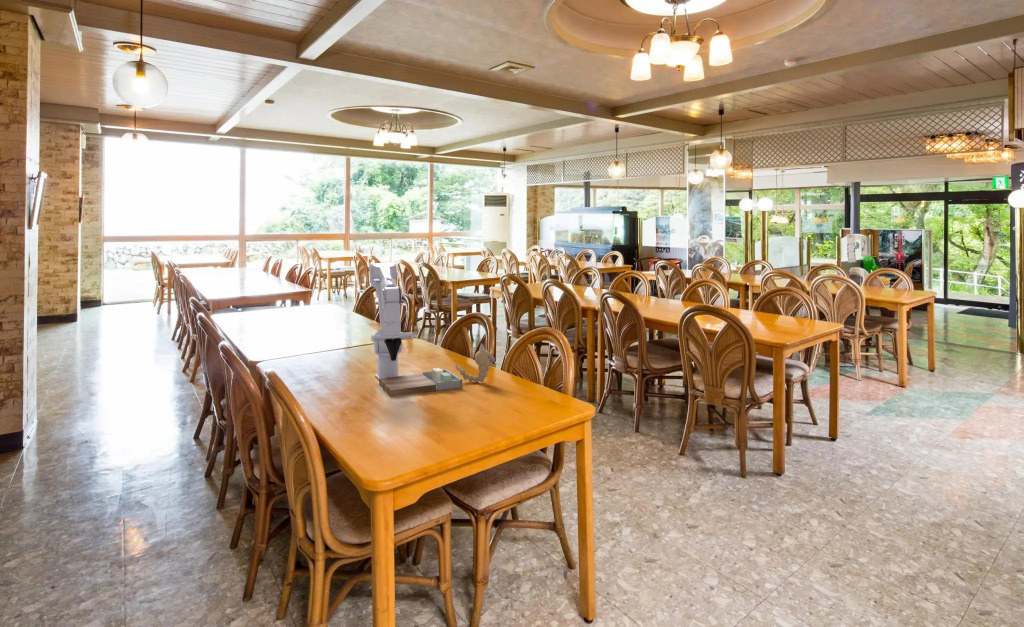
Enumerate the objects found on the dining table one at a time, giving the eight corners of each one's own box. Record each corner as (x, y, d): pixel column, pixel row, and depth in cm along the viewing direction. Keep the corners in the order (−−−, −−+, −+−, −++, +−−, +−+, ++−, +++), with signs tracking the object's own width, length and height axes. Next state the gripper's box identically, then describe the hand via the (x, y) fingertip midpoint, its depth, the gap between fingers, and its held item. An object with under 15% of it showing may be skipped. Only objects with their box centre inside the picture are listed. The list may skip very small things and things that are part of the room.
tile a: (432, 368, 215) (438, 367, 216) (432, 380, 215) (439, 379, 216) (436, 371, 211) (443, 370, 212) (436, 383, 211) (443, 382, 212)
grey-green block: (440, 372, 208) (447, 372, 209) (440, 385, 209) (447, 384, 210) (444, 375, 204) (451, 375, 205) (444, 388, 205) (451, 387, 206)
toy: (492, 385, 210) (492, 344, 208) (453, 383, 213) (452, 343, 211) (496, 381, 216) (496, 341, 214) (458, 379, 219) (457, 339, 217)
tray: (423, 379, 218) (422, 371, 218) (446, 376, 222) (446, 369, 222) (437, 391, 203) (437, 382, 202) (462, 388, 207) (462, 379, 206)
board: (379, 384, 211) (378, 378, 211) (421, 379, 218) (421, 373, 218) (390, 396, 196) (390, 390, 196) (436, 391, 203) (436, 384, 202)
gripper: (373, 324, 195) (375, 364, 197) (415, 321, 201) (416, 360, 203) (369, 321, 202) (370, 360, 204) (410, 319, 208) (411, 356, 210)
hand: (393, 360), depth 204 cm, fingers closed
